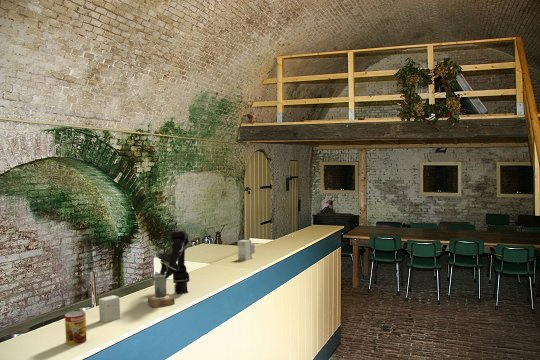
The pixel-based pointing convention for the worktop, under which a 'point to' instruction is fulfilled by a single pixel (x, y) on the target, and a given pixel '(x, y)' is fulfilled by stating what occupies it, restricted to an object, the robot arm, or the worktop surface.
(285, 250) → the worktop surface
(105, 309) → the small box
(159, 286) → the cylinder
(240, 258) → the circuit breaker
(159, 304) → the stand
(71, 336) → the canned food
